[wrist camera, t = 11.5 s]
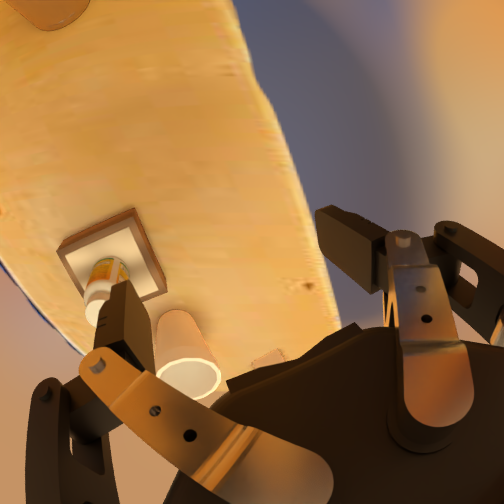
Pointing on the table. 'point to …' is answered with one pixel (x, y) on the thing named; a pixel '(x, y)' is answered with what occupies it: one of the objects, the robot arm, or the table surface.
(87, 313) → the supplement bottle
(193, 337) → the foam cup
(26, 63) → the table surface
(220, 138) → the table surface
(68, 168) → the table surface
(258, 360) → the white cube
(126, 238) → the base slab
